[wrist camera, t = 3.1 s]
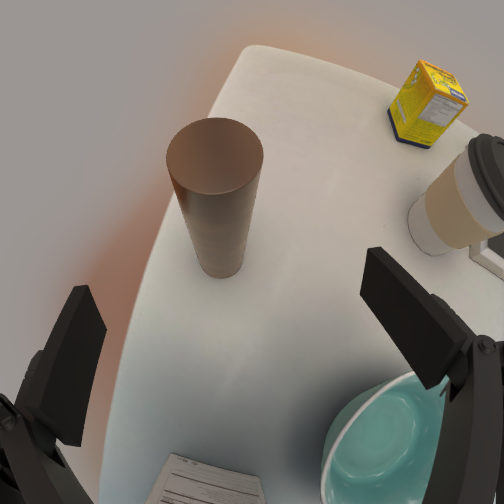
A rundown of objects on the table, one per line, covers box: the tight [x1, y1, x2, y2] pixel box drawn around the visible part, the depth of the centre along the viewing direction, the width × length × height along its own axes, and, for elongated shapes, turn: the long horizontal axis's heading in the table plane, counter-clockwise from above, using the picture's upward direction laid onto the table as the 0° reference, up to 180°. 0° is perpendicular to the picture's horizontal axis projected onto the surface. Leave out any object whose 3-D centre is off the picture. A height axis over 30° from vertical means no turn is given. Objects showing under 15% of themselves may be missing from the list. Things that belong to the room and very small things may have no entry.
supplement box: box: [387, 60, 469, 149], centre depth 29 cm, size 6×6×11 cm
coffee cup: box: [408, 134, 504, 256], centre depth 22 cm, size 9×9×15 cm
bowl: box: [320, 370, 449, 504], centre depth 19 cm, size 16×16×8 cm
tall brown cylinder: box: [166, 118, 264, 278], centre depth 19 cm, size 4×4×16 cm
